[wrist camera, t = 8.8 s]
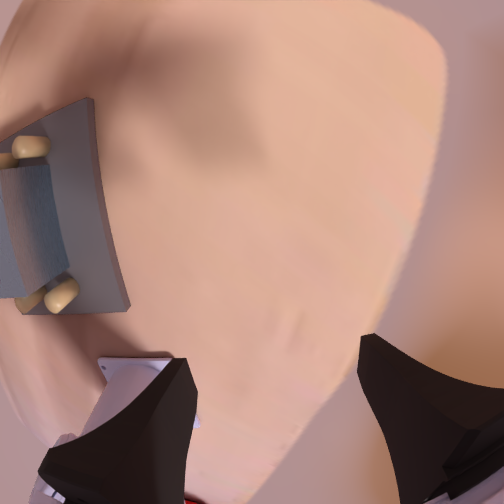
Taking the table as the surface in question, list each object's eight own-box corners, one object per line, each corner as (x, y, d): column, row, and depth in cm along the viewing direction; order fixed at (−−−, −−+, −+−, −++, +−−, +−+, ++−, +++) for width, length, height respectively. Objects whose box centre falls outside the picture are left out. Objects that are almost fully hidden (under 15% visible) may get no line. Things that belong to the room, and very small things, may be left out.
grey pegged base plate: (130, 305, 20) (110, 332, 16) (27, 310, 20) (4, 329, 17) (93, 99, 15) (63, 89, 12) (-8, 152, 16) (-36, 154, 12)
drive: (70, 266, 18) (27, 296, 13) (31, 272, 18) (-9, 298, 13) (49, 164, 16) (-1, 169, 10) (11, 181, 16) (-35, 191, 11)
